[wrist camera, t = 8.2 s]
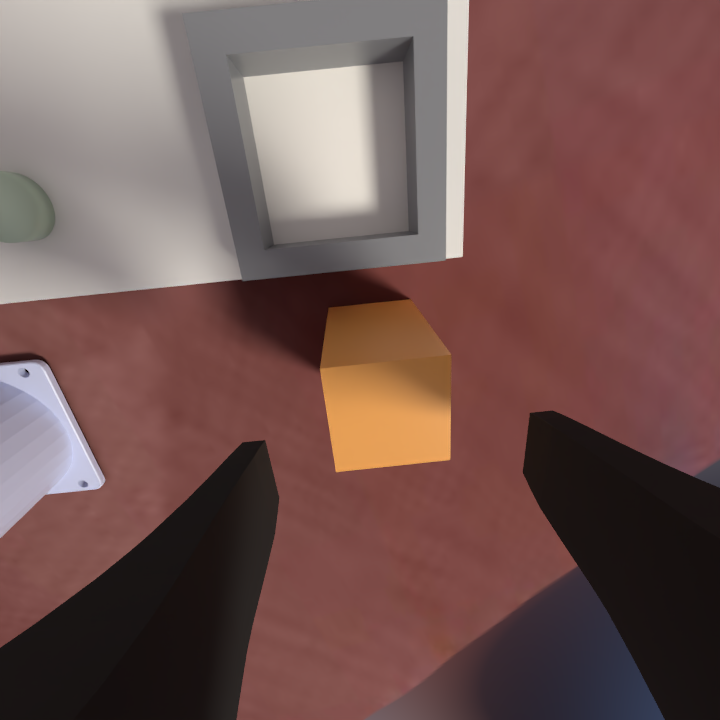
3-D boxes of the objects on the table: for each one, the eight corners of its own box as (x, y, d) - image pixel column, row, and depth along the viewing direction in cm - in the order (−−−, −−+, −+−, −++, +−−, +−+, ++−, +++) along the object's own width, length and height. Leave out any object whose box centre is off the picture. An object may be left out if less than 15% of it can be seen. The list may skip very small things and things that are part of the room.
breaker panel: (19, 296, 16) (-60, 318, 13) (-261, -274, 10) (-560, -513, 6) (452, 252, 16) (479, 263, 13) (460, -343, 10) (517, -612, 7)
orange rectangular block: (338, 380, 19) (336, 472, 12) (328, 307, 17) (319, 368, 11) (413, 372, 19) (449, 460, 12) (410, 299, 17) (451, 354, 11)
